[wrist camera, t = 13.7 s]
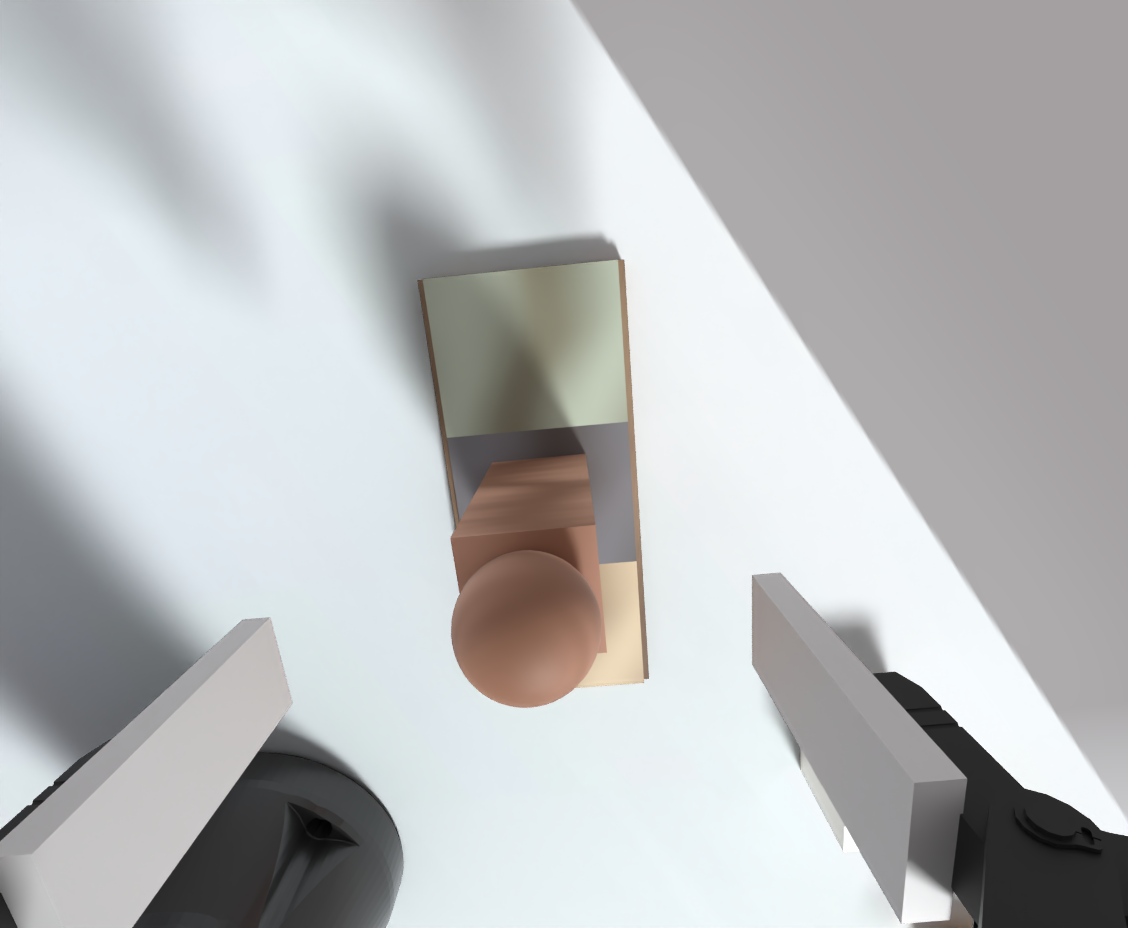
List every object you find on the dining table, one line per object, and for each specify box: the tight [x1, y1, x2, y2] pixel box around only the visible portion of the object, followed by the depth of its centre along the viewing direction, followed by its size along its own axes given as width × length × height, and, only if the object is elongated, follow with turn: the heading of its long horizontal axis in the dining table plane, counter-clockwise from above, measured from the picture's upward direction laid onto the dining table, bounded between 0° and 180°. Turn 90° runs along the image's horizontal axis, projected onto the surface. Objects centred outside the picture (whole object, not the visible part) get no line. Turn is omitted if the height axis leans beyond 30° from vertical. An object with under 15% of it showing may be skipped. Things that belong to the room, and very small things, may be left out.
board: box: [418, 260, 649, 688], centre depth 25 cm, size 9×21×1 cm, turn 5°
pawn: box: [451, 454, 607, 708], centre depth 19 cm, size 4×4×13 cm
